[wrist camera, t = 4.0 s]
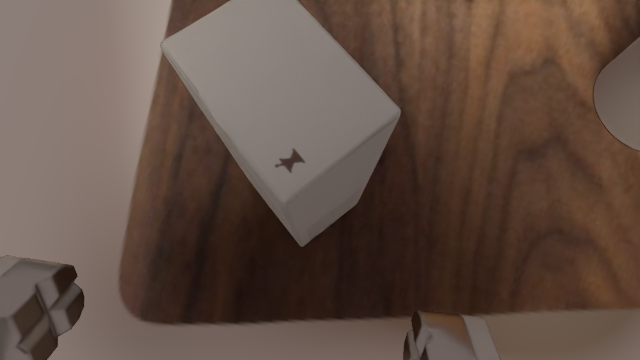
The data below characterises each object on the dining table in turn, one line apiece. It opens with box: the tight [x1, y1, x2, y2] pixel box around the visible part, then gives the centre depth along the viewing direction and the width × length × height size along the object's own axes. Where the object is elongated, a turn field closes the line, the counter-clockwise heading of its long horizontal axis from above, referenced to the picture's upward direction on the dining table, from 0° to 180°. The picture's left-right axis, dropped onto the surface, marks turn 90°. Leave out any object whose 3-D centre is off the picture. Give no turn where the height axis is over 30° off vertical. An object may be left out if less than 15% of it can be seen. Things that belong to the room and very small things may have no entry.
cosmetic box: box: [160, 0, 401, 247], centre depth 16 cm, size 6×4×12 cm
